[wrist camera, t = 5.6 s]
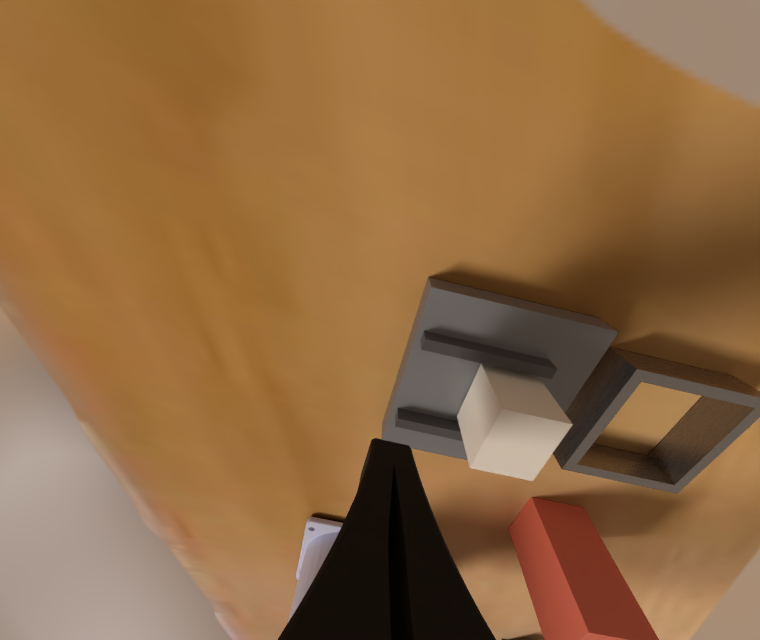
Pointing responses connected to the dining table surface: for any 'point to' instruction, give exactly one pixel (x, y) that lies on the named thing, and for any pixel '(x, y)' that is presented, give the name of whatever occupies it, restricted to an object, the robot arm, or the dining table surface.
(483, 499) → the dining table surface
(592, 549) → the peg
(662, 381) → the frame
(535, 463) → the switch
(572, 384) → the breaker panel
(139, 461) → the dining table surface
